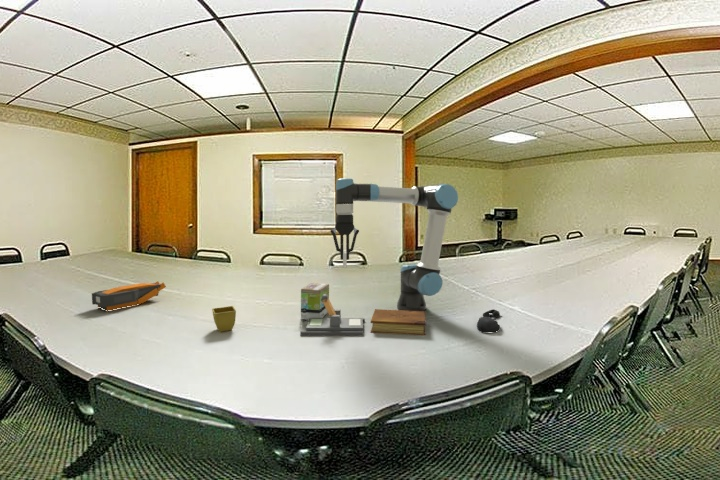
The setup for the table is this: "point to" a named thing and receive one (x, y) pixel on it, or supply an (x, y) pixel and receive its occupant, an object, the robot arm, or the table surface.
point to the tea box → (313, 300)
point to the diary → (398, 322)
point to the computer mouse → (488, 322)
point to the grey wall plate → (332, 333)
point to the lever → (328, 304)
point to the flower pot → (224, 318)
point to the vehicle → (126, 295)
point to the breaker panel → (335, 323)
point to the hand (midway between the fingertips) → (344, 266)
